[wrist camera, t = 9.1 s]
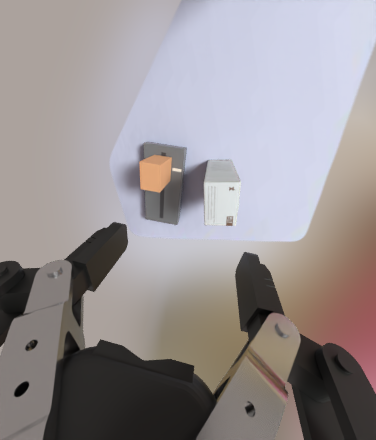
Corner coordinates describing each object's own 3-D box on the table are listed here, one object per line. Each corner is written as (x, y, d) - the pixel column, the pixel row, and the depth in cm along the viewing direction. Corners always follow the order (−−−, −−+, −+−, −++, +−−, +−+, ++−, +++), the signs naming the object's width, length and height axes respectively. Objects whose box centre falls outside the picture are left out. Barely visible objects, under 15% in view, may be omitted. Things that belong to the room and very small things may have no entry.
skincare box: (207, 159, 28) (199, 179, 17) (233, 158, 27) (242, 179, 17) (207, 192, 31) (201, 226, 21) (230, 192, 30) (236, 227, 20)
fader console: (148, 141, 28) (143, 142, 26) (186, 147, 27) (184, 149, 26) (149, 214, 36) (145, 219, 34) (179, 220, 35) (177, 225, 33)
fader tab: (154, 154, 27) (139, 161, 22) (171, 157, 26) (160, 165, 21) (154, 177, 29) (140, 189, 24) (170, 180, 28) (159, 192, 23)
